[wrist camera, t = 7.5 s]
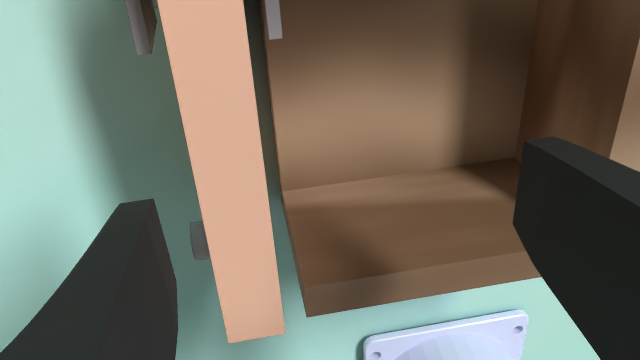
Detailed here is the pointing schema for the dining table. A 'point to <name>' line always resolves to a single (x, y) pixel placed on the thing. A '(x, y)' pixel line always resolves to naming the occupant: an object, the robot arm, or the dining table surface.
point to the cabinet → (429, 130)
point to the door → (225, 160)
